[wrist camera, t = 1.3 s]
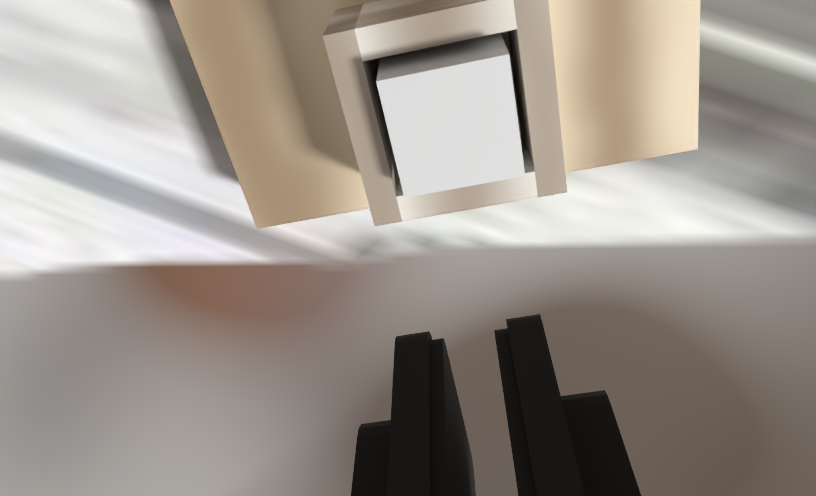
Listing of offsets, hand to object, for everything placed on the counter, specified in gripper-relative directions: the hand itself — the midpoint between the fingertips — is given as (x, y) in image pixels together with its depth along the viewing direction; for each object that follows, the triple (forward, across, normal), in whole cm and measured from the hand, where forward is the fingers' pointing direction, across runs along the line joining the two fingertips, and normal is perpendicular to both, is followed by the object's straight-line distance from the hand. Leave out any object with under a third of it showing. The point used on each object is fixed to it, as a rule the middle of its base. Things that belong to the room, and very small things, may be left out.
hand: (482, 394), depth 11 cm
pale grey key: (+15, 0, 0) cm, 15 cm away
